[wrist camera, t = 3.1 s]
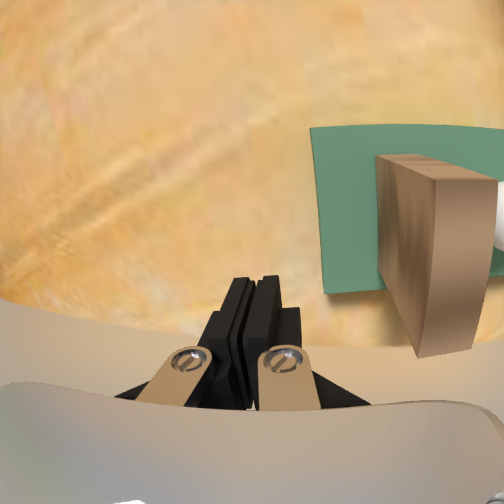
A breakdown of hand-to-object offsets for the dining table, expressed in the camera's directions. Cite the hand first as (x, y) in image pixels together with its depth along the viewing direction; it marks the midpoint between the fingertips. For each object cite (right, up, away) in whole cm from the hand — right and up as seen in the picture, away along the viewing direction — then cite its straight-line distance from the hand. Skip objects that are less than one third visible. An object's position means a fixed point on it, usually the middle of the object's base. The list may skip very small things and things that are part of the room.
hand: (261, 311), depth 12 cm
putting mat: (+21, +7, +9) cm, 24 cm away
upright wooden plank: (+10, +5, +8) cm, 13 cm away
